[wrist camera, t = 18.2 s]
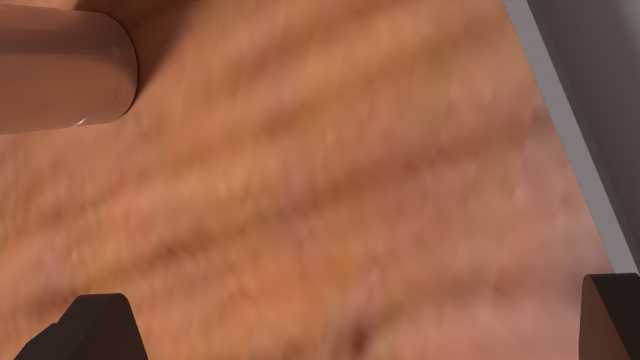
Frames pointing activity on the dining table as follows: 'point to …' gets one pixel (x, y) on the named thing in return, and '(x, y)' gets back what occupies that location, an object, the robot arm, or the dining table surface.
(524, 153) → the dining table surface
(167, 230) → the dining table surface
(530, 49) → the bin
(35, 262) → the dining table surface
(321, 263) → the dining table surface
